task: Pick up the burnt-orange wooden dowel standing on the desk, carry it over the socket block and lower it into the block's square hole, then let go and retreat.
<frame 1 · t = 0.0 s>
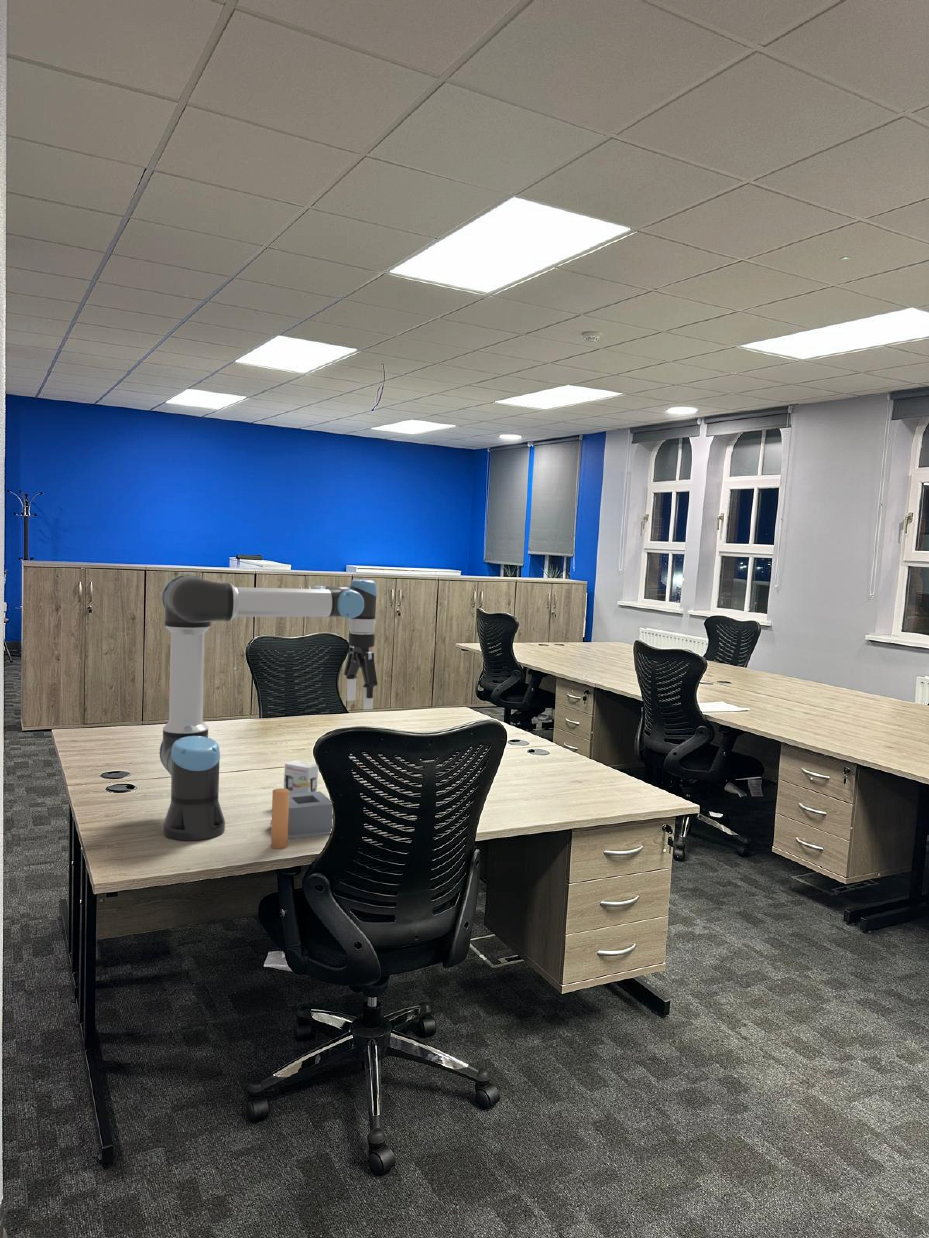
hand: (359, 704, 257), 28 cm above the table, fingers open, 13 cm apart
socket block: (304, 827, 231), on the table
ink box: (299, 804, 251), on the table
dowel: (279, 845, 217), on the table
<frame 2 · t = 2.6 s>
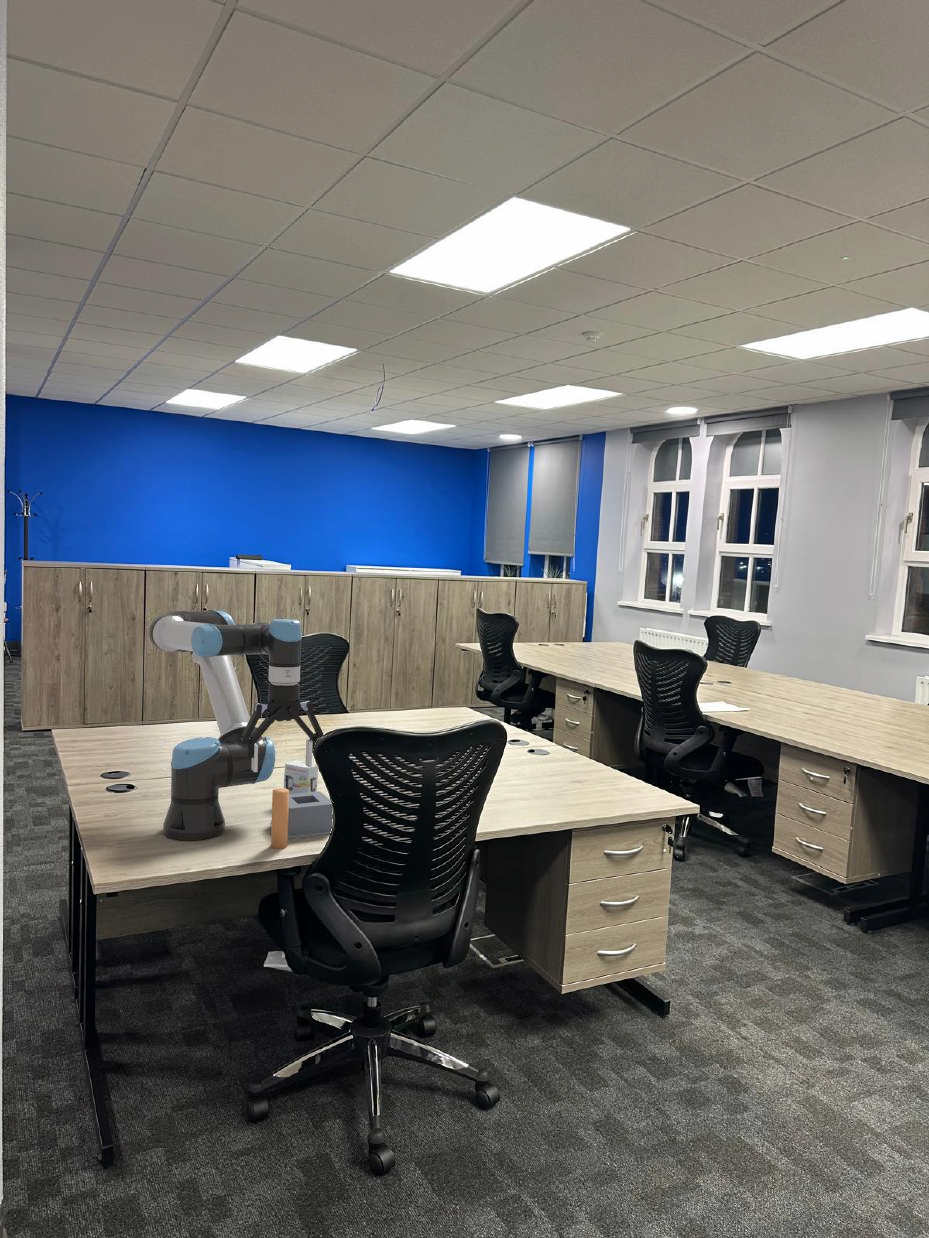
hand: (281, 768, 215), 20 cm above the table, fingers open, 13 cm apart
nothing on the table moved.
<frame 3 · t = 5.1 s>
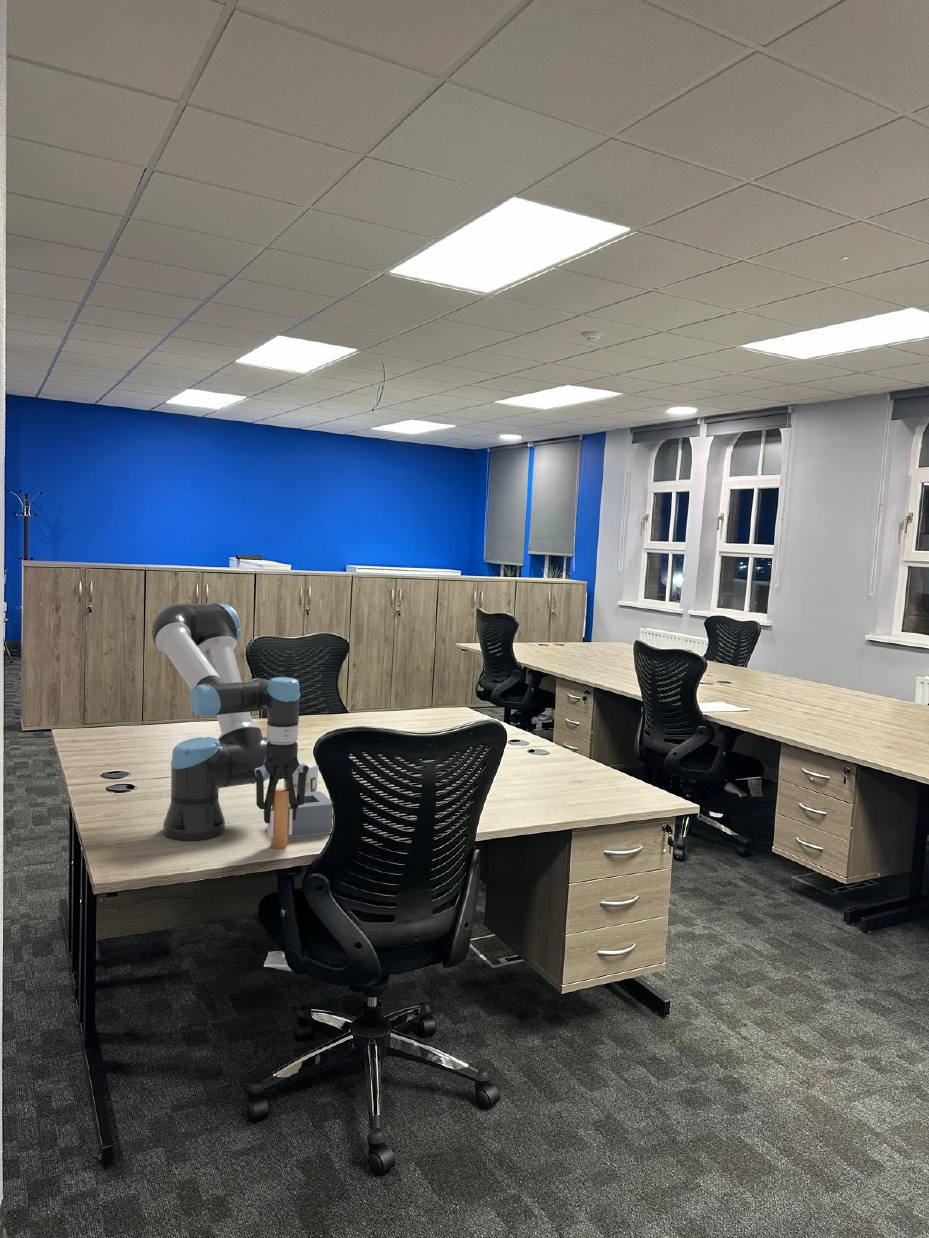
hand: (279, 833, 217), 3 cm above the table, fingers closed on dowel, 4 cm apart
dowel: (279, 845, 217), on the table, touching gripper
everything else where it was.
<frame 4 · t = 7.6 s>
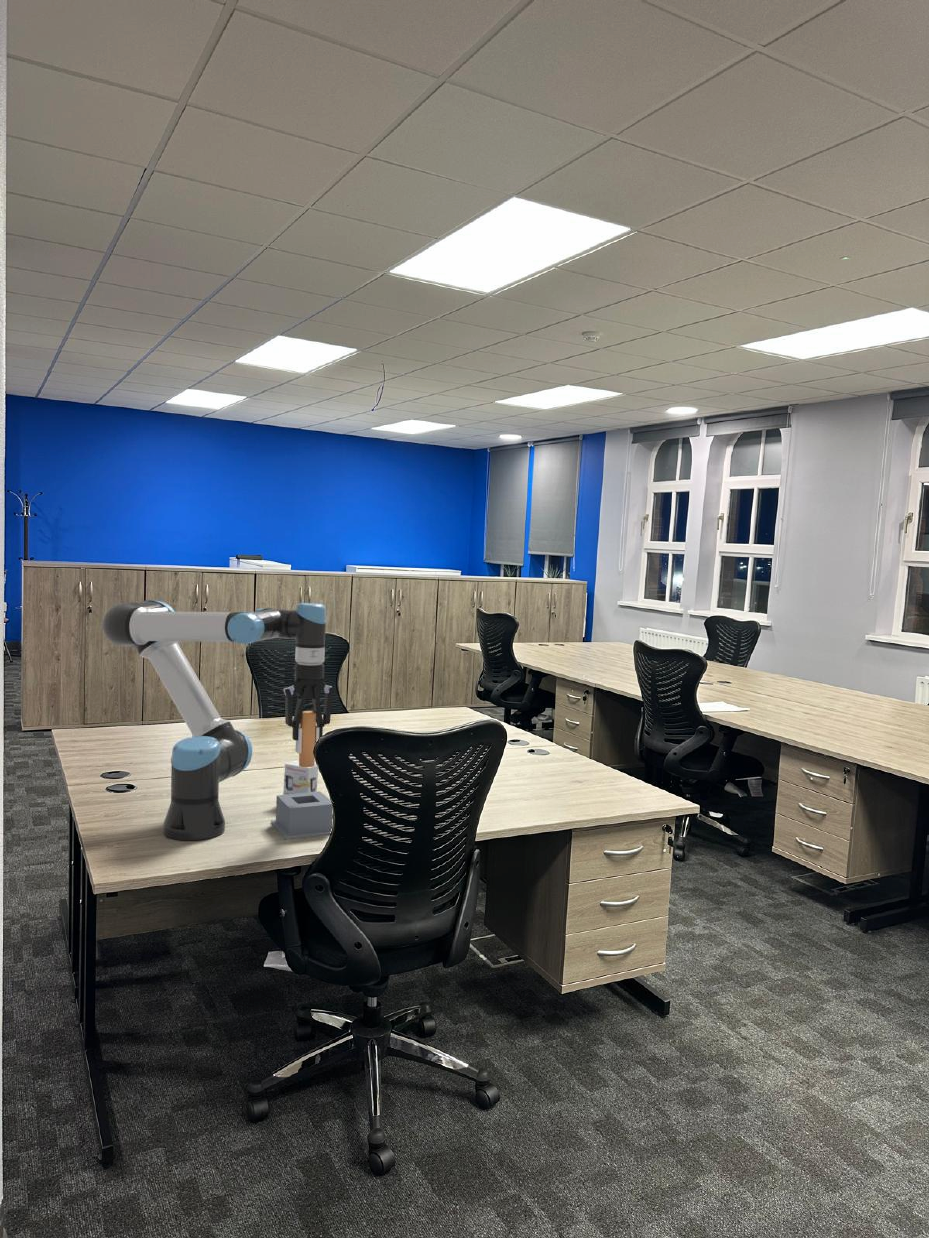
hand: (307, 751, 229), 21 cm above the table, fingers closed on dowel, 4 cm apart
dowel: (306, 765, 230), point 17 cm above the table, touching gripper
everything else where it was.
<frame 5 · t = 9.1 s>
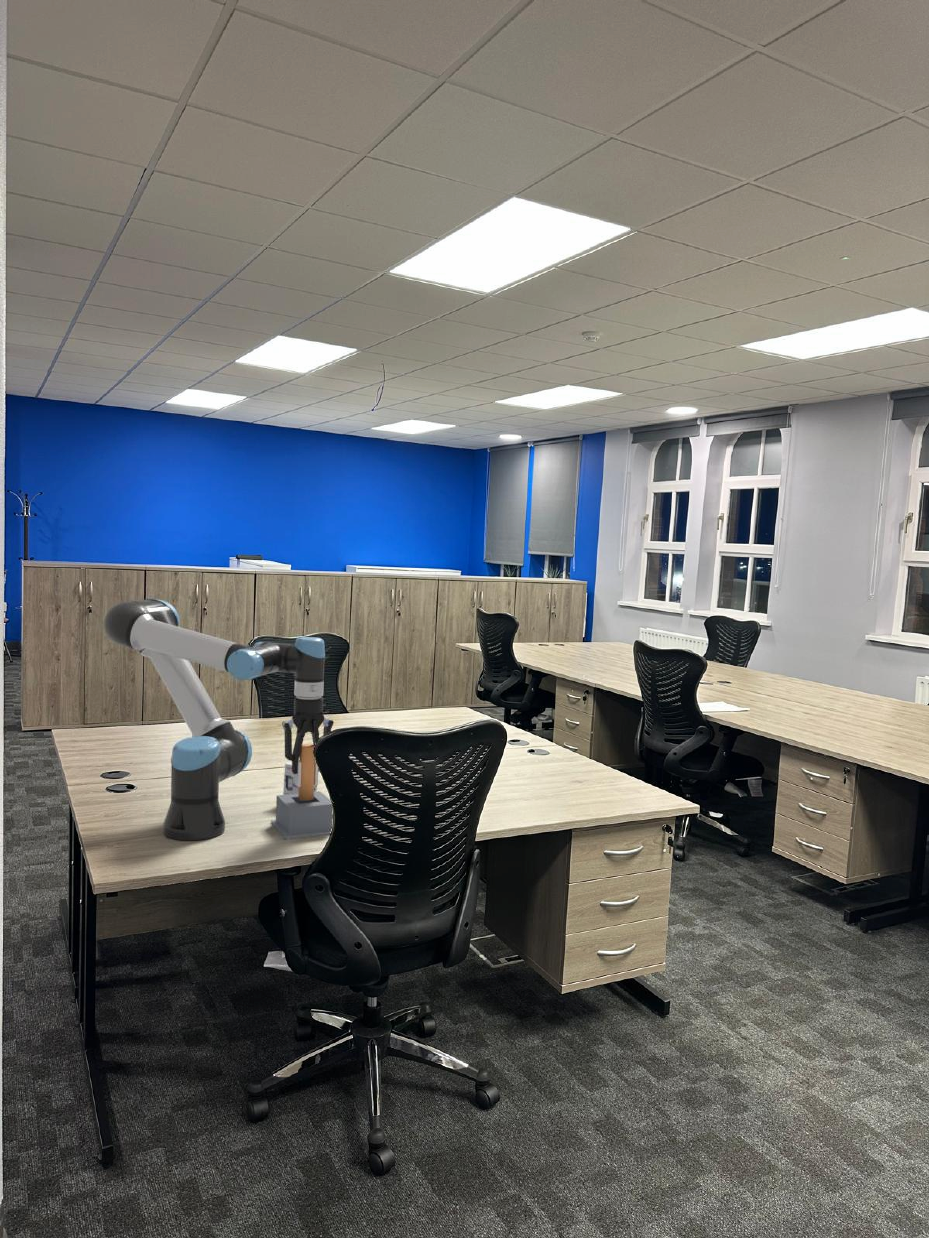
hand: (306, 784, 230), 12 cm above the table, fingers closed on dowel, 4 cm apart
dowel: (306, 798, 231), point 8 cm above the table, touching gripper
everything else where it was.
when the fingers open (9 cm above the table, at t = 10.3 s): dowel drops 5 cm, resting on socket block.
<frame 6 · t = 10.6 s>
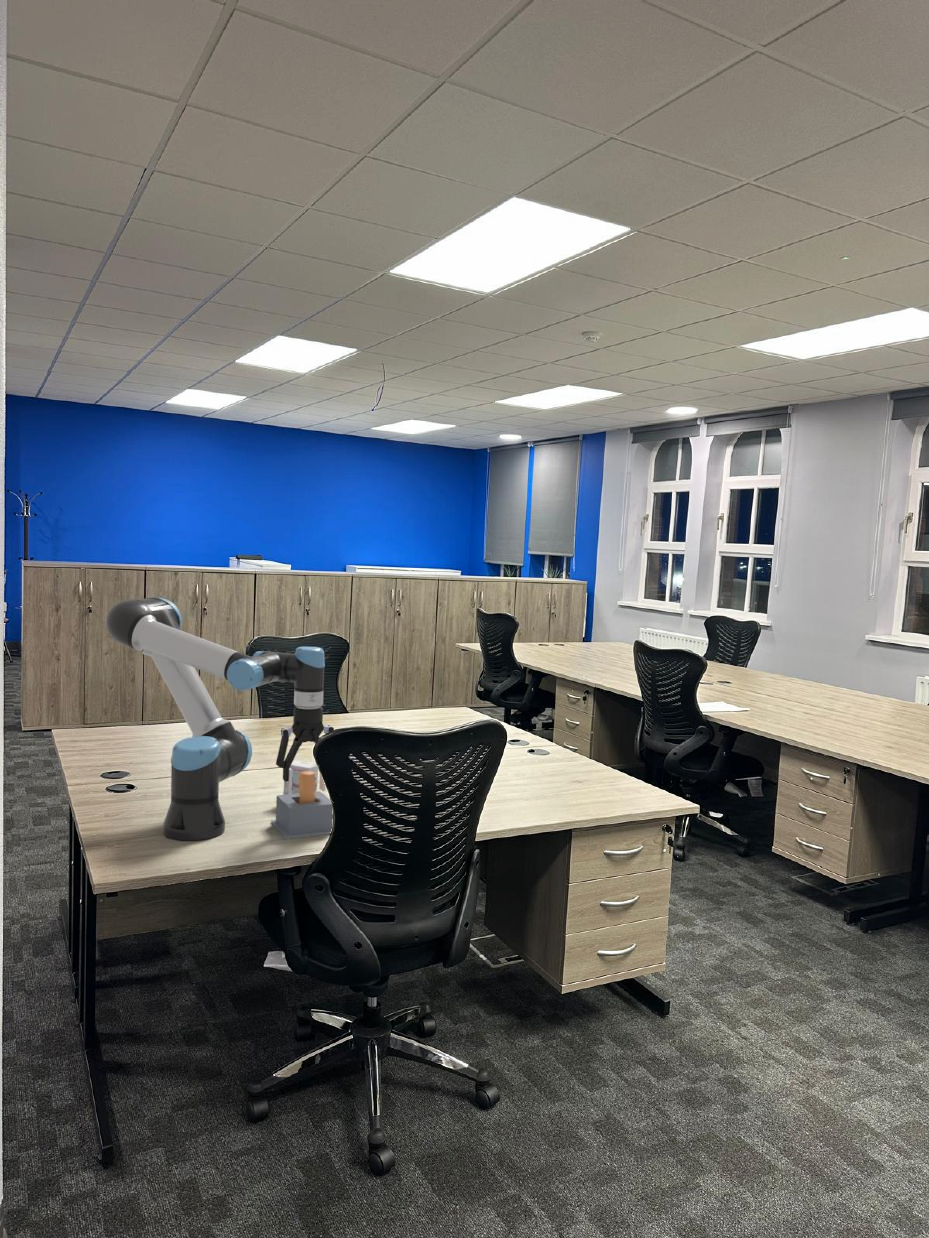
hand: (305, 791, 231), 10 cm above the table, fingers open, 8 cm apart
dowel: (306, 824, 232), point 1 cm above the table, touching socket block
everything else where it was.
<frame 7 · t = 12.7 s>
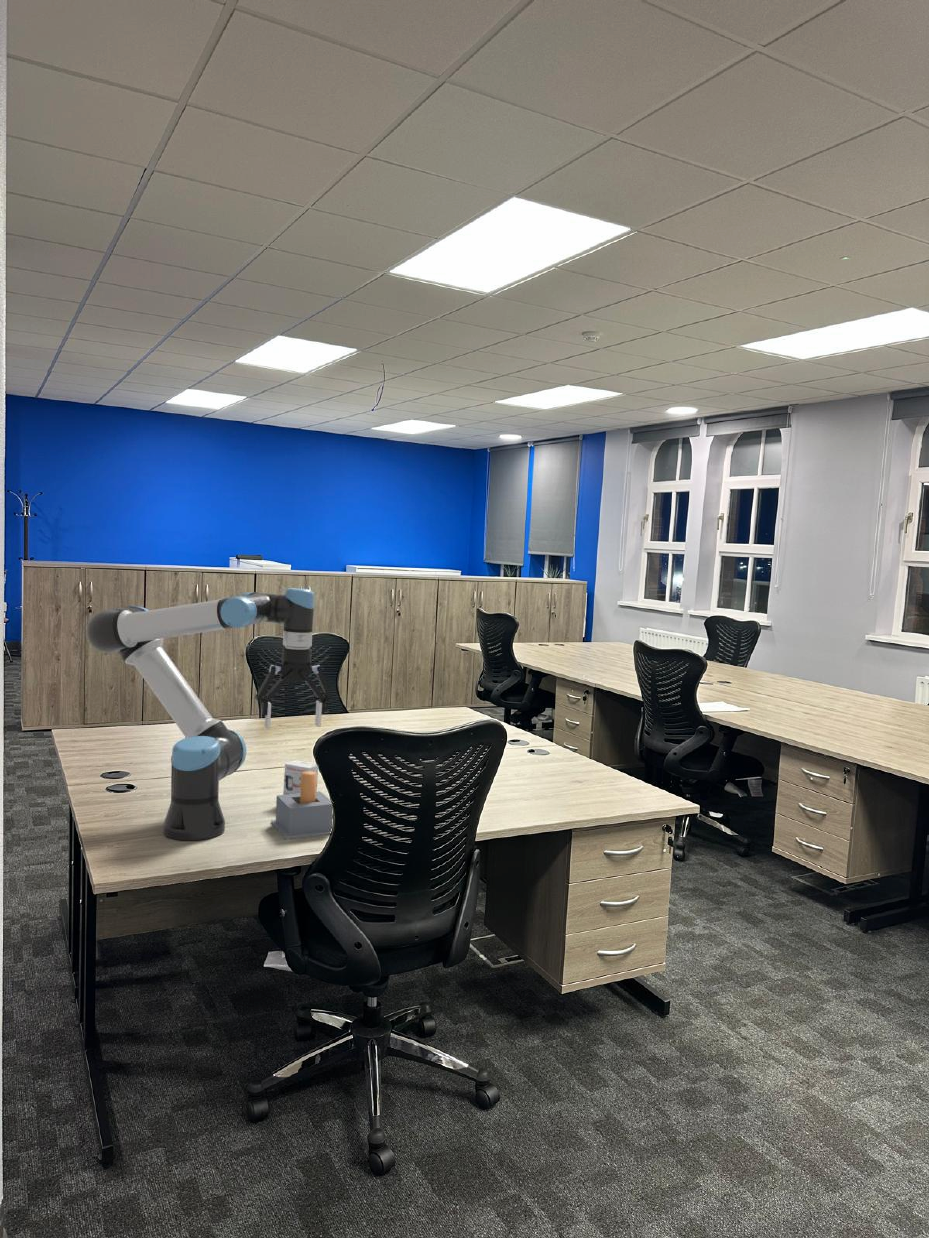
hand: (292, 726, 232), 26 cm above the table, fingers open, 13 cm apart
nothing on the table moved.
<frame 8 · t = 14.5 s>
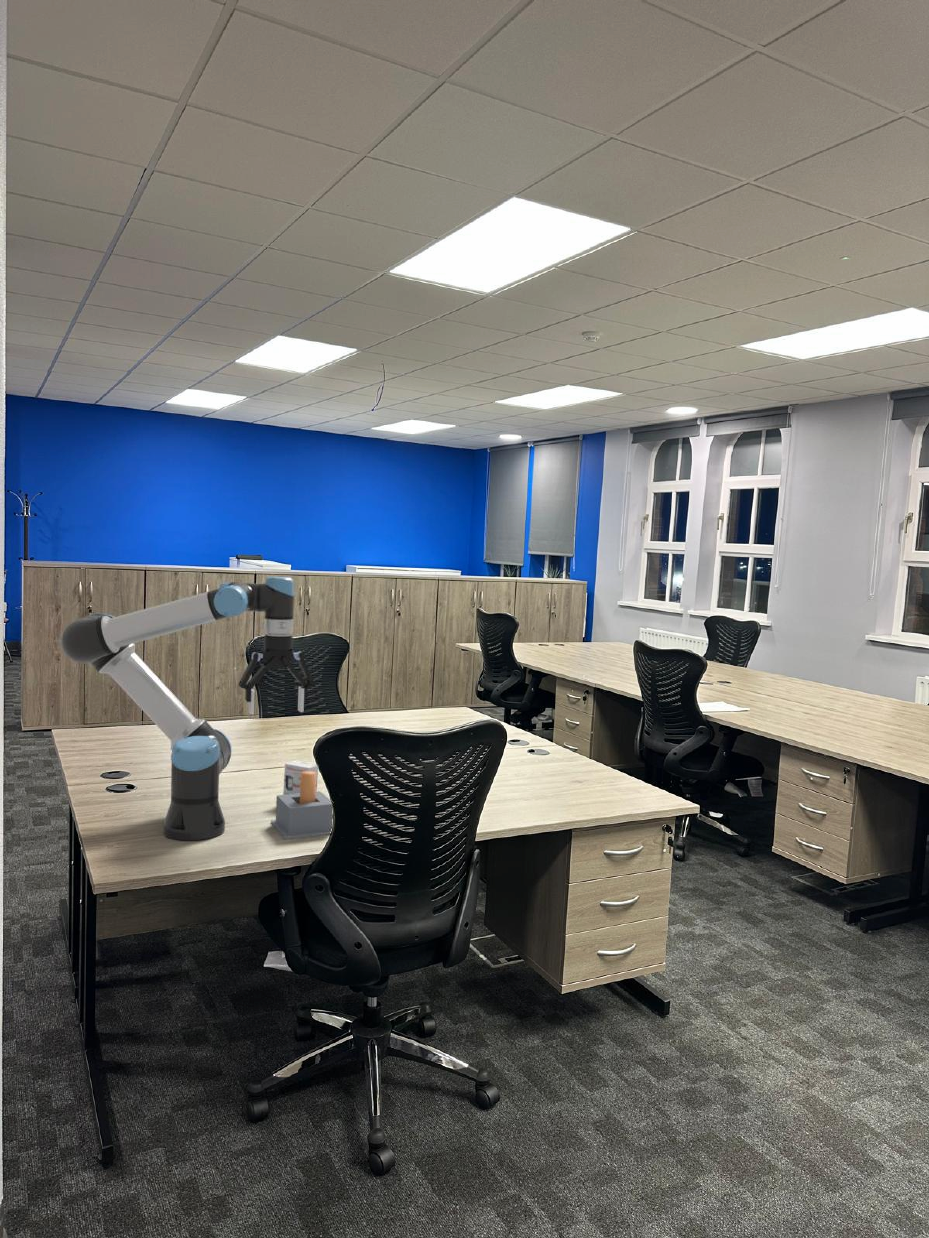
hand: (276, 712, 237), 29 cm above the table, fingers open, 13 cm apart
nothing on the table moved.
at the end: dowel 0.6 cm off-centre on the socket block, point 0.6 cm above the socket block's base; dowel tilted 1°; the gripper is holding nothing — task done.
